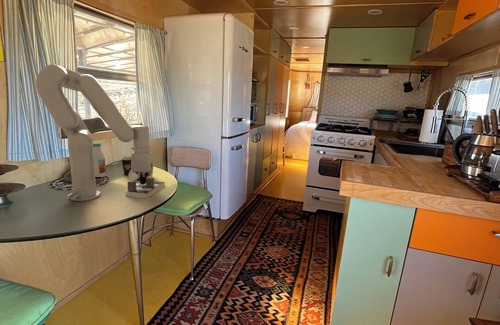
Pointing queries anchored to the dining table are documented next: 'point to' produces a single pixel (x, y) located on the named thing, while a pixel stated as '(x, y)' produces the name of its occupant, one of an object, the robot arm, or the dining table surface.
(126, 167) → the coffee mug
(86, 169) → the robot arm
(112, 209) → the dining table surface
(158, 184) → the small tray
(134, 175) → the spread jar
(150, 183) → the breaker
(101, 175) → the milk bottle
